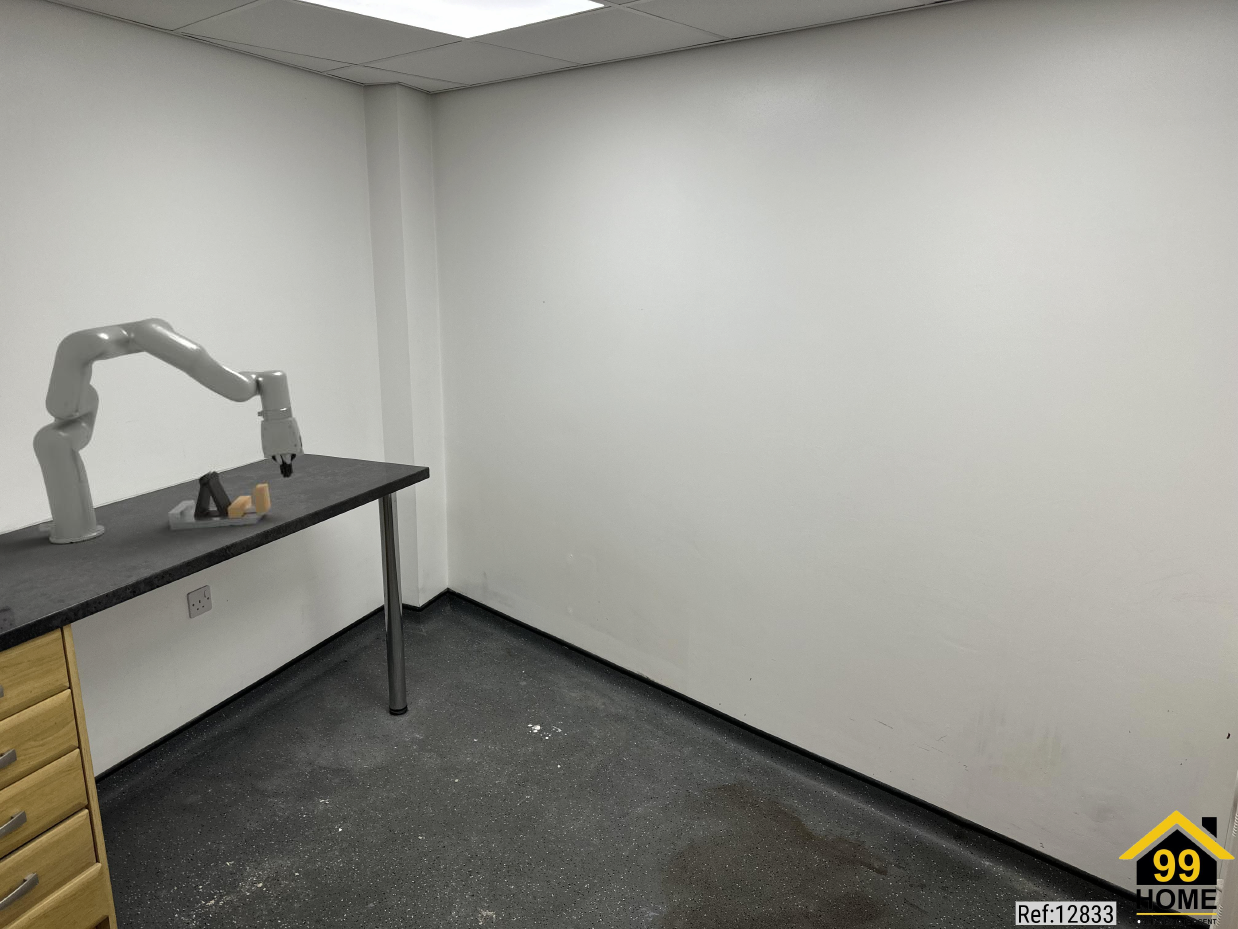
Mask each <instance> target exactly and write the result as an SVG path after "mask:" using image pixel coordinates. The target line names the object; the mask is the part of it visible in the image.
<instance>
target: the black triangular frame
mask: <svg viewBox="0 0 1238 929" xmlns="http://www.w3.org/2000/svg"><path fill="white" fill-rule="evenodd" d="M198 483H199V491H198V495H197V498H196V499H197V500H196V502H195V507H196V508H195V512H194V517H195V518H198V517H210V516H211V517H220V516H226V515H228V507H229V506H230V505H231V504H232V503H233V502H231V500H230V498H229V496H228V494H227V493H226V491H225V489H224V487H223V485H222V484H221V481H220V478H219V473H218V472H217V471H215V470H213V471H212V470H211V471H208V472H207V473H206V474H204V475H201V476H200V477H199V479H198ZM211 499H212V501H213V503H214V505H215V508H217V510H210V509H211V508H210V505H211Z"/></svg>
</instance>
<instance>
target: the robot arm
mask: <svg viewBox="0 0 1238 929" xmlns="http://www.w3.org/2000/svg"><path fill="white" fill-rule="evenodd" d="M139 353H147V354H149V355H151V356H153V357H154V358H156V359H158V360H160V361H162V362H164V363H166V364H168V365H170V366H172V367H173V368H175V369H178V370H179V371H182V372H183V373H184V374H186V375H187V376H188V377H190V378H192V379H193V380H194V381H196V382H197V383H198V384H200V385H201V386H203V387H204V388H207V389H208V390H209V391H212V392H213V393H215V394H217V395H218V396H221V397H223V398H225V399H228V400H229V401H231V402H235V403H245V402H248V401H250V400H251V399H253V398H254V397H257V396H259V397H260V403H261V410H260V411H257V416H258V417H262V419H263V420H261V421H260V440H261V442H260V443H261V450H262V453H263V458H264V459H267V460H273V461H274V462H276V463H277V464H278V465H279V470H280V471H279V472H280V475H281V476H283V477H282V478H283V479H285V478H288V479H289V478H290V477H291V476H292V474H293V473H294V471H293V464H292V462H293V461H294V460H295V458H299V457H301V456H303V455H304V454H305V452H304V449H303V440H302V436H301V431H300V428H299V425H298V421H297V419H296V417H295V416H293V411H292V405H291V398H290V392H289V391H290V390H289V385H288V378H287V374H286V373H285V371H283V370H280V369H275V370H274V369H273V370H272V369H271V370H263V371H248V370H247V371H246V370H245V371H243V370H242V371H239V372H236V371H233V369H232V370H231V369H230V368H228V367H226V366H224V365H223V364H221V363H220V362H219V361H216V360H215V359H214V358H213V357H212V356H211V355H210V354H209V353H208V351H207V350H206V348H205V347H204V346H202V344H199V343H198V342H195V341H194V340H192V339H190V338H188V337H186V336H185V335H183V334H180V333H179V332H177V331H175V329H174V328H173V326H172V325H171V324H170V323H169V322H168V321H166V320H164V319H163V318H157V317H151V318H146V319H143V320H136V321H132V322H125V323H118V324H111V325H105V326H99V327H92V328H86V329H81V330H79V331H75V332H72V333H70V334H68V335H67V336H65V337H64V338H63V339H62V340H61V341H60V343H59V344H58V346H57V348H56V351H55V357H54V360H53V361H54V362H53V366H52V367H53V368H52V370H51V374H50V379H49V383H48V389H47V393H46V397H45V409H46V411H47V412H48V414H49V415H50V416H51V417H52V418H53V419H54V420H53V422H51V423H48V424H46V425H45V426H43V427H41V428H40V429H39V430H38V431H37V432H36V433H35V435H34V437H33V441H32V448H33V451H34V455H35V456H36V459H37V461H38V464H39V467H40V471H41V473H42V478H43V482H44V486H45V491H46V495H47V500H48V504H49V510H50V514H51V518H52V522H51V523H41V524H39V526H38V530H39V533H40V534H41V533H48V532H49V533H50V535H49V541H50V542H51V543H53V544H71V543H70V542H73V543H78V542H83V540H84V541H88V540H92V539H93V538H94V537H95V538H96V537H99V536H101V535H103V534H104V533H105V532H106V529H105V526H104V525H101V524H100V525H99V524H97V518H96V514H95V509H94V504H93V498H92V494H91V489H90V484H89V480H88V475H87V470H86V467H85V464H84V461H83V459H82V456H81V455H80V451H82V450H83V449H84V448H86V447H87V446H88V445H89V444H90V442H91V440H92V437H93V432H94V429H95V428H94V427H95V424H96V420H97V414H98V409H99V404H100V399H99V394H98V391H97V389H96V388H95V387H94V386H93V384H91V380H92V375H93V365H94V363H95V362H99V361H107V360H110V359H111V360H112V359H115V358H119V357H124V356H127V355H133V354H134V355H135V354H139ZM283 455H286V456H285V458H284V456H283Z"/></svg>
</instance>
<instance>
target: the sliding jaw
mask: <svg viewBox="0 0 1238 929" xmlns="http://www.w3.org/2000/svg"><path fill="white" fill-rule="evenodd" d="M252 493H253V499H254V504H253V505H252V497H251V495H239V496H238V498H236V499H235V500H234V501H233V502H231V503H232V504H231V505H230V506H229V507H228V514H229V518H241V516H242V515H243V514H244V513H249V512H256V513H265V514H266V513H267V512H268V511H269V509H270V508H271V507H272V506H271V499H270V492H269V485H268V483H261V484H260V483H259V484H257V485H256V486H255V487H254V489H253V490H252Z"/></svg>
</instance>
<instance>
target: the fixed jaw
mask: <svg viewBox="0 0 1238 929" xmlns="http://www.w3.org/2000/svg"><path fill="white" fill-rule="evenodd" d="M195 508H196V502H195V499H194V500H193V499H192V500H183V501H181V502H180V503H179V504H177V505H176V506H175V507H174V508H173V509H172V510H170V511H169V512H168V513H167V514H168V515H167V516H168V521H169V524H170V523H182V522H183V521H184V520H185V519H186V518H187V517H188V516H190V515H191V514H192V513H193V512H194V511H195Z"/></svg>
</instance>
